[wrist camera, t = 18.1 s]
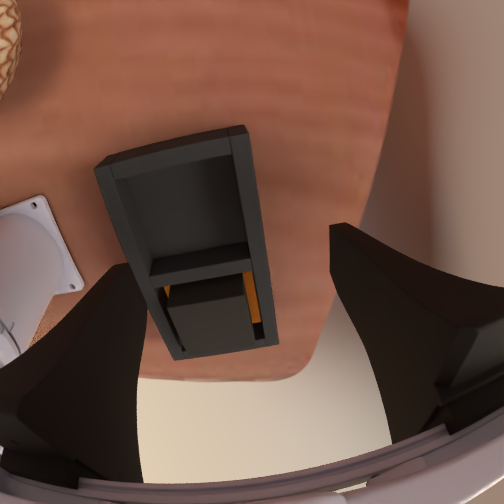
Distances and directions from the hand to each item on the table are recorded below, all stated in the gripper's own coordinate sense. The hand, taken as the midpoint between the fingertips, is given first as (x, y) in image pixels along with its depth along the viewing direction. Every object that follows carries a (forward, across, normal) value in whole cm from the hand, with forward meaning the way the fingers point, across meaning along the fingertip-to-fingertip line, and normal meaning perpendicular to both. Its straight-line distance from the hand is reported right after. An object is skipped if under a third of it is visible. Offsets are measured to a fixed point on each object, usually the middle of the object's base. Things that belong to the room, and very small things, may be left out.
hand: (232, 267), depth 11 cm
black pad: (+9, +2, +9) cm, 13 cm away
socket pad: (+9, +2, +5) cm, 11 cm away
